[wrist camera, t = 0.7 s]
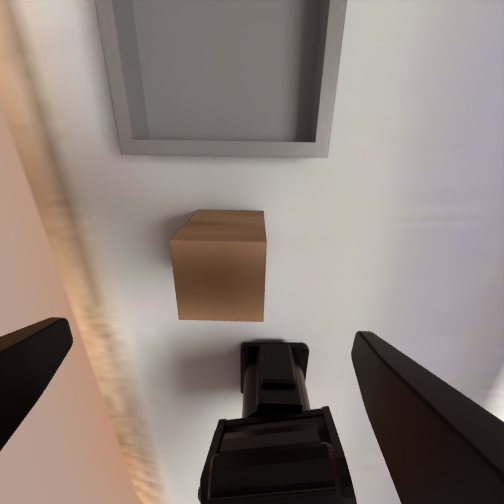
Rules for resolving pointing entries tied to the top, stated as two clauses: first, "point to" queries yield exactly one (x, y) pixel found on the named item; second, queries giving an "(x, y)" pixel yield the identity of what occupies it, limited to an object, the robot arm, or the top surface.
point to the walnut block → (220, 266)
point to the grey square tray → (223, 75)
